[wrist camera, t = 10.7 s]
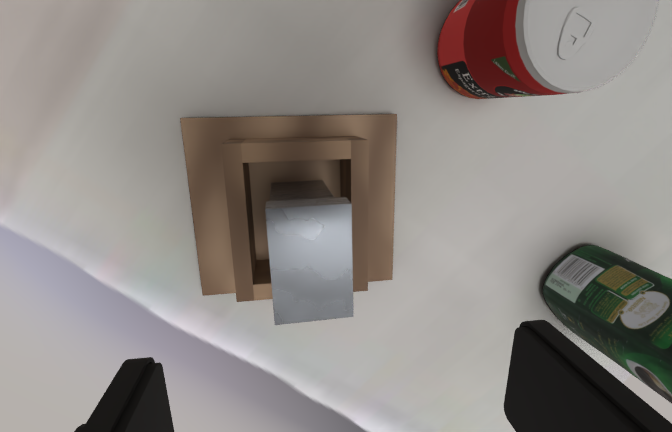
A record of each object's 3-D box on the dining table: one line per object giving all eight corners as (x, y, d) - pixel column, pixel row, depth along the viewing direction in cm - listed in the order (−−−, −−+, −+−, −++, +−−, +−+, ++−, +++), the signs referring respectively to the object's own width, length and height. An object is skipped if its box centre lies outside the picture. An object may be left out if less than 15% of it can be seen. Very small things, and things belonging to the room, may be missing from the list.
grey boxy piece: (322, 167, 29) (351, 203, 17) (324, 239, 30) (353, 316, 19) (270, 169, 28) (265, 209, 17) (275, 243, 30) (274, 324, 18)
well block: (393, 114, 29) (418, 114, 24) (389, 274, 33) (409, 305, 28) (183, 117, 27) (161, 119, 22) (205, 289, 31) (190, 325, 26)
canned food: (423, 90, 29) (504, 78, 19) (447, -21, 27) (552, -103, 17) (509, 107, 31) (628, 105, 20) (537, 2, 29) (685, -60, 18)
